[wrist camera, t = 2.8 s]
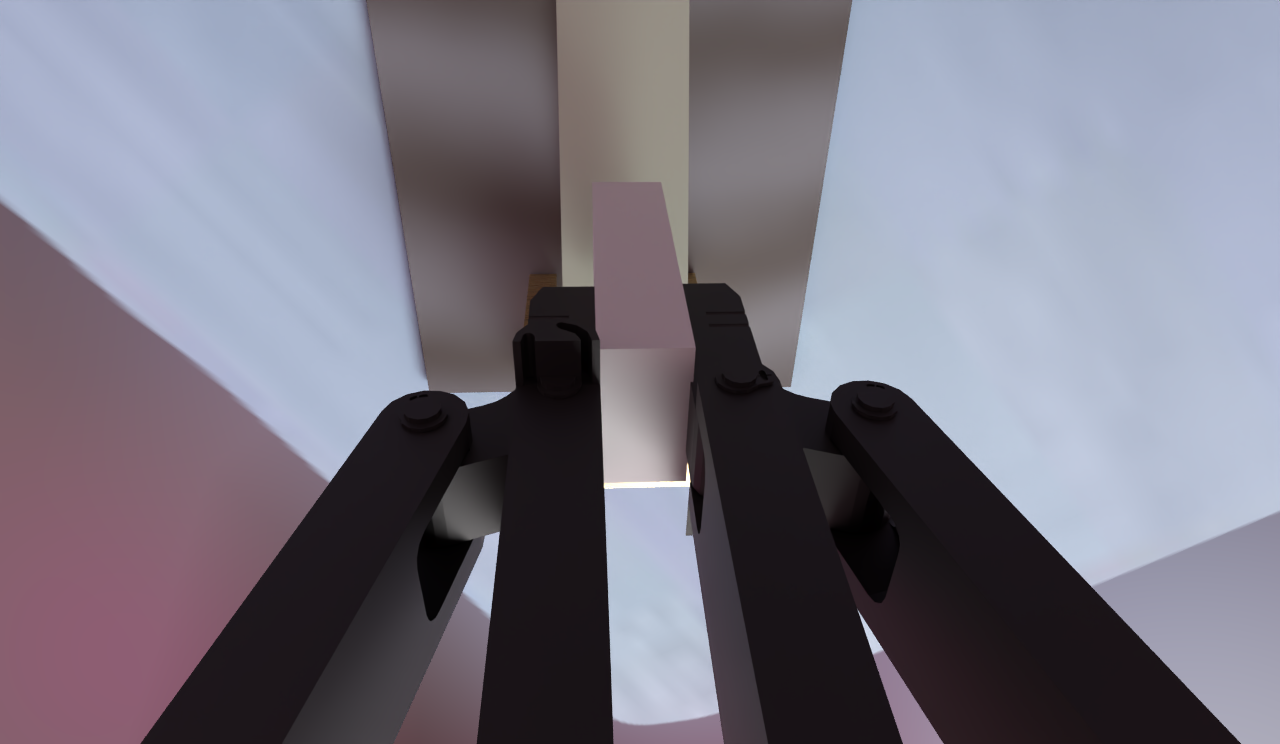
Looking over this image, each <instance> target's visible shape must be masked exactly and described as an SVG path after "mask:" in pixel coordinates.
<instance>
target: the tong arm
mask: <svg viewBox="0 0 1280 744" xmlns="http://www.w3.org/2000/svg"><path fill="white" fill-rule="evenodd" d="M556 15H557V60H558V105H559V149H560V194H561V238H562V283H563V287H581V286H594V276H593V205H592V182H661V184H662V189H663V194H664V198H665V203H666V208H667V213H668V218H669V222H670V227H671V232H672V237H673V241H674V246H675V251H676V256H677V261H678V265H679V270H680V275H681V280H682V284H688V184H689V0H556Z"/></svg>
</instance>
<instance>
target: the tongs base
mask: <svg viewBox="0 0 1280 744" xmlns="http://www.w3.org/2000/svg"><path fill="white" fill-rule="evenodd" d="M366 2H367V8H368V14H369V21H370V27H371V33H372V39H373V45H374V52H375V58H376V64H377V70H378V76H379V83H380V89H381V95H382V101H383V107H384V113H385V120H386V126H387V132H388V138H389V144H390V151H391V157H392V163H393V169H394V175H395V182H396V188H397V194H398V200H399V206H400V213H401V219H402V225H403V231H404V237H405V244H406V250H407V256H408V262H409V268H410V274H411V281H412V287H413V293H414V299H415V305H416V312H417V318H418V324H419V330H420V336H421V343H422V349H423V355H424V361H425V367H426V374H427V380H428V386H429V391H443V392H447V393H462V392H513V391H514V390H515V389H516V382H515V370H514V358H513V346H512V341H513V339H514V337H515V335H516V333H517V332H518V331H519V330H521V329H522V328H523V327H524V320H525V311H526V303H527V294H528V285H529V276H530V274H557V287H563V283H562V238H561V194H560V149H559V105H558V60H557V15H556V0H366ZM851 5H852V0H689V184H688V273H695V276H696V280H697V283H726V284H727V285H728V286H729V287H730V288H731V289H733V290H734V291H735V292H736V293H737V294H738V295H739V296H740V297H741V300H742V303H743V306H744V309H745V314H746V316H747V319H748V322H749V327H750V328H751V331H752V334H753V337H754V340H755V344H756V347H757V350H758V353H759V356H760V359H761V362H762V364H763V365H765V366H766V367H768V368H769V369H771V370H772V371H774V373H775V374H776V376H777V377H778V379H779V380H780V382H781V385H782V387H791V381H792V375H793V369H794V362H795V356H796V350H797V344H798V337H799V331H800V325H801V318H802V312H803V306H804V300H805V293H806V287H807V281H808V275H809V268H810V262H811V256H812V249H813V243H814V237H815V231H816V224H817V218H818V212H819V205H820V199H821V193H822V187H823V180H824V174H825V168H826V162H827V155H828V149H829V143H830V136H831V130H832V124H833V118H834V111H835V105H836V99H837V93H838V86H839V80H840V74H841V67H842V61H843V55H844V49H845V42H846V36H847V30H848V24H849V17H850V11H851Z"/></svg>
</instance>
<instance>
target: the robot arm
mask: <svg viewBox="0 0 1280 744" xmlns="http://www.w3.org/2000/svg"><path fill="white" fill-rule="evenodd" d="M592 205H593V276H594V286H581V287H542V288H541V289H540V290H539V291H538V292H537V294H536V295H535V296H534V297H533V298H532V299H531V300H530V307H529V319H528V325H526V326H525V327H523V328H522V329H521V330H519V331H518V332H517V333H516V335H515V337H514V339H513V341H512V346H513V358H514V370H515V382H516V389H515V390H514V391H513V392H511V393H510V394H509V395H507V396H506V397H504V398H502V399H500V400H498V401H496V402H493V403H490V404H487V405H483V406H479V407H475V408H470V409H468V408H467V406H466V403H465V402H464V401H463V400H461V399H460V398H459V397H457V396H456V395H454V394H450V393H447V392H443V391H420V392H416V393H411V394H407V395H405V396H403V397H401V398H398V399H396V400H394V401H392V402H391V403H390V404H389V405H388V406H387V407H386V408H385V409H384V410H382V412H381V413H380V414H379V416H378V417H377V418H376V420H375V421H374V423H373V424H372V425H371V427H370V428H369V429H368V431H367V432H366V434H365V435H364V436H363V438H362V439H361V440H360V442H359V443H358V445H357V446H356V447H355V449H354V450H353V451H352V453H351V454H350V456H349V457H348V458H347V460H346V461H345V463H344V464H343V465H342V467H341V468H340V469H339V471H338V472H337V474H336V475H335V476H334V478H333V479H332V480H331V482H330V483H329V485H328V486H327V487H326V489H325V490H324V492H323V493H322V494H321V496H320V497H319V498H318V500H317V501H316V503H315V504H314V505H313V507H312V508H311V509H310V511H309V512H308V514H307V515H306V516H305V518H304V519H303V521H302V522H301V523H300V525H299V526H298V527H297V529H296V530H295V531H294V533H293V534H292V536H291V537H290V538H289V540H288V541H287V543H286V544H285V545H284V547H283V548H282V549H281V551H280V552H279V554H278V555H277V556H276V558H275V559H274V560H273V562H272V563H271V565H270V566H269V567H268V569H267V570H266V572H265V573H264V574H263V576H262V577H261V578H260V580H259V581H258V583H257V584H256V585H255V587H254V588H253V589H252V591H251V592H250V594H249V595H248V596H247V598H246V599H245V600H244V602H243V603H242V605H241V606H240V607H239V609H238V610H237V611H236V613H235V614H234V616H233V617H232V618H231V620H230V621H229V623H228V624H227V625H226V627H225V628H224V629H223V631H222V632H221V634H220V635H219V636H218V638H217V639H216V640H215V642H214V643H213V645H212V646H211V647H210V649H209V650H208V652H207V653H206V654H205V656H204V657H203V658H202V660H201V661H200V663H199V664H198V665H197V667H196V668H195V669H194V671H193V672H192V673H191V675H190V676H189V678H188V679H187V680H186V682H185V683H184V685H183V686H182V687H181V689H180V690H179V692H178V693H177V694H176V696H175V697H174V699H173V700H172V701H171V702H170V704H169V705H168V707H167V708H166V709H165V711H164V712H163V714H162V715H161V716H160V718H159V719H158V720H157V722H156V723H155V725H154V726H153V727H152V729H151V730H150V731H149V733H148V734H147V736H146V737H145V738H144V740H143V741H142V742H141V744H393V743H394V740H395V739H396V736H397V734H398V732H399V730H400V728H401V725H402V723H403V721H404V719H405V717H406V714H407V712H408V710H409V708H410V705H411V703H412V701H413V699H414V697H415V694H416V692H417V690H418V688H419V686H420V683H421V681H422V679H423V677H424V675H425V672H426V670H427V668H428V666H429V664H430V662H431V659H432V657H433V655H434V653H435V651H436V648H437V646H438V644H439V642H440V639H441V637H442V635H443V633H444V631H445V628H446V626H447V624H448V622H449V620H450V618H451V615H452V613H453V611H454V609H455V607H456V604H457V602H458V600H459V598H460V596H461V593H462V591H463V589H464V587H465V585H466V582H467V580H468V578H469V576H470V574H471V571H472V569H473V567H474V565H475V563H476V560H477V558H478V556H479V554H480V552H481V549H482V547H483V542H484V537H485V535H489V534H492V533H496V532H499V531H500V535H499V545H498V554H497V563H496V572H495V581H494V590H493V600H492V609H491V618H490V627H489V637H488V645H487V654H486V664H485V673H484V682H483V691H482V700H481V709H480V719H479V728H478V737H477V744H613V717H612V689H611V662H610V634H609V607H608V579H607V552H606V524H605V497H604V483H640V482H680V481H686V476H687V463H688V469H689V475H690V488H689V501H688V514H687V527H686V536H689V535H693V538H694V544H695V551H696V558H697V565H698V572H699V578H700V585H701V592H702V599H703V605H704V612H705V619H706V626H707V632H708V639H709V646H710V653H711V659H712V666H713V673H714V680H715V686H716V693H717V700H718V707H719V713H720V719H721V727H722V733H723V740H724V744H903V743H902V740H901V737H900V734H899V731H898V728H897V725H896V722H895V719H894V716H893V713H892V710H891V707H890V704H889V701H888V699H887V696H886V692H885V690H884V687H883V684H882V681H881V678H880V675H879V672H878V669H877V666H876V663H875V660H874V657H873V654H872V651H871V648H870V645H869V642H868V639H867V636H866V633H865V630H864V627H863V625H862V622H861V619H860V616H859V613H858V611H859V612H860V614H861V615H862V617H863V618H864V620H865V621H866V623H867V625H868V626H869V628H870V629H871V631H872V632H873V634H874V636H875V637H876V639H877V640H878V642H879V643H880V645H881V646H882V648H883V650H884V651H885V653H886V654H887V656H888V657H889V659H890V661H891V662H892V664H893V665H894V667H895V668H896V670H897V671H898V673H899V675H900V676H901V678H902V679H903V681H904V682H905V684H906V686H907V687H908V688H909V690H910V692H911V693H912V695H913V696H914V698H915V700H916V701H917V703H918V704H919V706H920V707H921V709H922V711H923V712H924V714H925V715H926V717H927V718H928V720H929V721H930V723H931V724H932V726H933V728H934V729H935V731H936V732H937V734H938V735H939V737H940V739H941V740H942V741H943V743H944V744H1241V743H1240V742H1239V741H1238V740H1237V739H1236V738H1235V737H1234V736H1233V735H1232V734H1231V733H1230V732H1229V731H1228V729H1227V728H1226V727H1225V726H1224V725H1223V724H1222V723H1221V722H1220V721H1219V720H1218V719H1217V718H1216V717H1215V716H1214V715H1213V714H1212V713H1211V712H1210V711H1209V710H1208V709H1207V708H1206V706H1205V705H1204V704H1203V703H1202V702H1201V701H1200V700H1199V699H1198V698H1197V697H1196V696H1195V695H1194V694H1193V693H1192V692H1191V691H1190V690H1189V689H1188V688H1187V687H1186V686H1185V684H1184V683H1183V682H1182V681H1181V680H1180V679H1179V678H1178V677H1177V676H1176V675H1175V674H1174V673H1173V672H1172V671H1171V670H1170V669H1169V668H1168V667H1167V666H1166V665H1165V664H1164V663H1163V661H1162V660H1161V659H1160V658H1159V657H1158V656H1157V655H1156V654H1155V653H1154V652H1153V651H1152V650H1151V649H1150V648H1149V647H1148V646H1147V645H1146V644H1145V643H1144V642H1143V640H1142V639H1140V637H1139V636H1138V635H1137V634H1136V633H1135V632H1134V631H1133V630H1132V629H1131V628H1130V627H1129V626H1128V625H1127V624H1126V623H1125V622H1124V621H1123V619H1122V618H1121V617H1120V616H1119V615H1118V614H1117V613H1116V612H1115V611H1114V610H1113V609H1112V608H1111V607H1110V606H1109V605H1108V604H1107V603H1106V602H1105V601H1104V600H1103V599H1102V597H1101V596H1099V594H1098V593H1097V592H1096V591H1095V590H1094V589H1093V588H1092V587H1091V586H1090V585H1089V584H1088V583H1087V582H1086V581H1085V580H1084V579H1083V578H1082V577H1081V576H1080V574H1079V573H1078V572H1077V571H1076V570H1075V569H1074V568H1073V567H1072V566H1071V565H1070V564H1069V563H1068V562H1067V561H1066V560H1065V559H1064V558H1063V557H1062V556H1061V555H1060V554H1059V552H1058V551H1057V550H1056V549H1055V548H1054V547H1053V546H1052V545H1051V544H1050V543H1049V542H1048V541H1047V540H1046V539H1045V538H1044V537H1043V536H1042V535H1041V534H1040V533H1039V532H1038V530H1037V529H1036V528H1035V527H1034V526H1033V525H1032V524H1031V523H1030V522H1029V521H1028V520H1027V519H1026V518H1025V517H1024V516H1023V515H1022V514H1021V513H1020V512H1019V511H1018V510H1017V508H1016V507H1015V506H1014V505H1013V504H1012V503H1011V502H1010V501H1009V500H1008V499H1007V498H1006V497H1005V496H1004V495H1003V494H1002V493H1001V492H1000V491H999V490H998V489H997V488H996V486H995V485H994V484H993V483H992V482H991V481H990V480H989V479H988V478H987V477H986V476H985V475H984V474H983V473H982V472H981V471H980V470H979V469H978V468H977V467H976V466H975V464H974V463H973V462H972V461H971V460H970V459H969V458H968V457H967V456H966V455H965V454H964V453H963V452H962V451H961V450H960V449H959V448H958V447H957V446H956V445H955V444H954V442H953V441H952V440H951V439H950V438H949V437H948V436H947V435H946V434H945V433H944V432H943V431H942V430H941V429H940V428H939V427H938V426H937V425H936V424H935V423H934V422H933V421H932V419H931V418H930V417H929V416H928V415H927V414H926V413H925V412H924V411H923V410H922V409H921V408H920V407H919V406H918V405H917V404H916V403H915V402H914V401H913V400H912V399H911V398H910V397H909V396H907V395H906V394H905V393H903V392H902V391H901V390H899V389H897V388H894V387H892V386H889V385H887V384H884V383H879V382H874V381H852V382H849V383H846V384H843V385H840V386H839V387H838V388H837V389H836V390H835V391H833V392H832V396H831V401H825V400H819V399H814V398H809V397H805V396H801V395H797V394H794V393H791V392H789V391H787V390H784V389H783V388H782V385H781V382H780V380H779V379H778V377H777V376H776V374H775V373H774V371H772V370H771V369H769V368H768V367H766V366H765V365H763V364H762V362H761V359H760V356H759V353H758V350H757V347H756V344H755V340H754V337H753V334H752V331H751V328H750V327H749V322H748V319H747V316H746V314H745V309H744V306H743V303H742V300H741V297H740V296H739V295H738V294H737V293H736V292H735V291H734V290H733V289H731V288H730V287H729V286H728V285H727V284H726V283H688V284H682V280H681V275H680V270H679V265H678V261H677V256H676V251H675V246H674V241H673V237H672V232H671V227H670V222H669V218H668V213H667V208H666V203H665V198H664V194H663V189H662V184H661V182H592ZM857 609H858V610H857Z"/></svg>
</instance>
